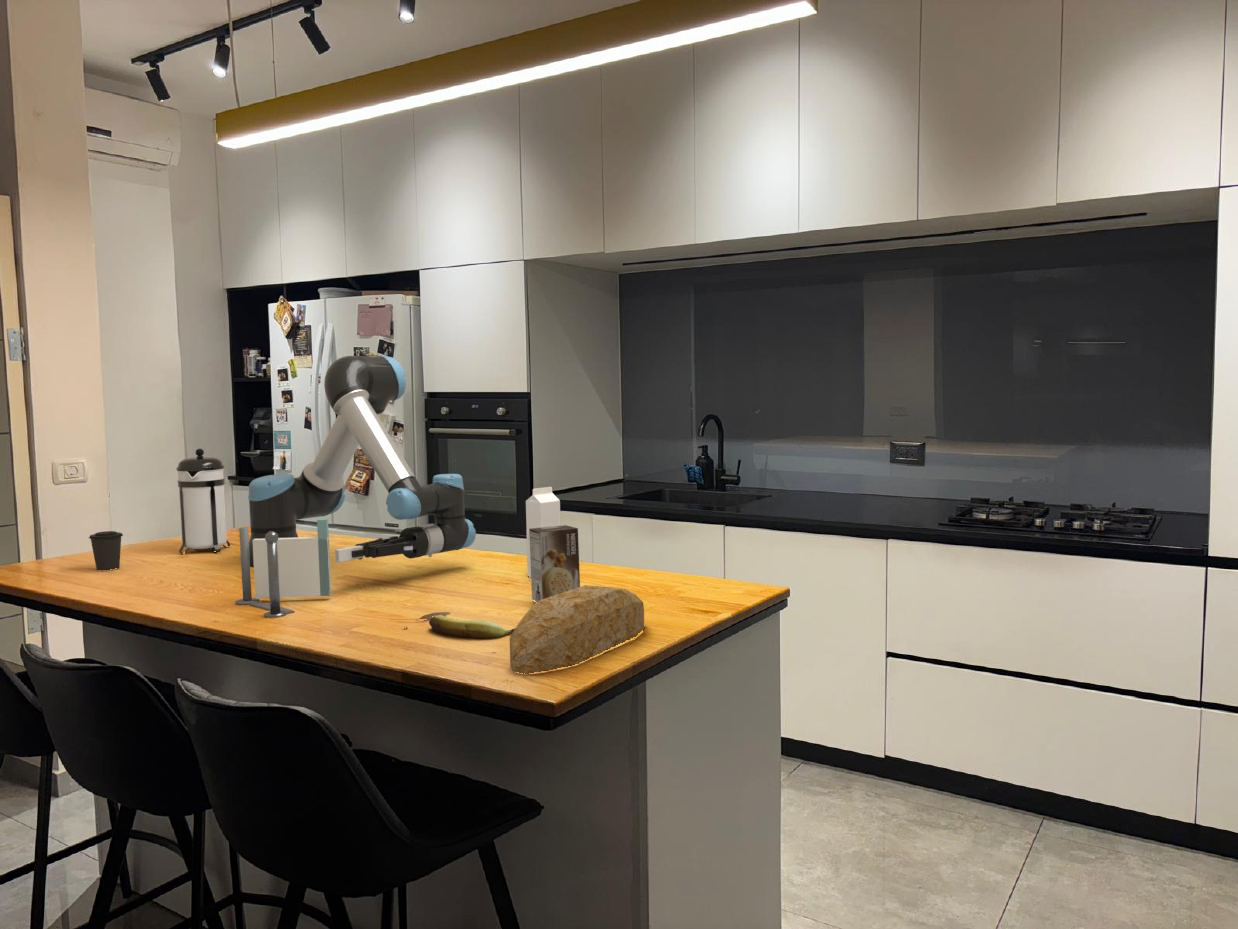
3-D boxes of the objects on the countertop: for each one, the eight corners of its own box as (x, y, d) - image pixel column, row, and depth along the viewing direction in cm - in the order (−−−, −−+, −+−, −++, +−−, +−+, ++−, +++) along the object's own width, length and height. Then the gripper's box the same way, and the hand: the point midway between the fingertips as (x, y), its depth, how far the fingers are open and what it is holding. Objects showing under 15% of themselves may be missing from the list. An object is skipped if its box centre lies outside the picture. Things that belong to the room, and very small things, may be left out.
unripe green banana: (348, 645, 176) (347, 625, 175) (436, 612, 200) (435, 594, 200) (510, 666, 161) (509, 644, 160) (583, 628, 185) (583, 608, 185)
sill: (231, 602, 209) (230, 601, 209) (252, 598, 213) (252, 597, 213) (278, 615, 197) (278, 613, 197) (300, 611, 201) (300, 609, 201)
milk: (561, 577, 232) (560, 487, 230) (542, 581, 227) (540, 489, 225) (546, 573, 236) (544, 485, 234) (526, 577, 232) (525, 487, 230)
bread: (547, 680, 152) (546, 619, 151) (495, 670, 158) (493, 611, 157) (660, 629, 182) (660, 578, 181) (613, 622, 188) (612, 573, 187)
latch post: (260, 615, 197) (255, 531, 196) (279, 611, 201) (275, 529, 199) (271, 618, 194) (267, 533, 193) (290, 614, 198) (286, 531, 196)
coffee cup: (114, 572, 248) (112, 534, 247) (84, 572, 248) (81, 534, 247) (131, 566, 256) (129, 529, 255) (101, 566, 256) (99, 529, 255)
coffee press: (245, 549, 279) (239, 447, 276) (189, 557, 267) (183, 451, 265) (219, 543, 291) (214, 445, 288) (165, 550, 279) (159, 449, 277)
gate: (241, 600, 209) (237, 522, 207) (244, 598, 211) (240, 521, 209) (329, 597, 210) (326, 519, 209) (331, 595, 212) (328, 518, 211)
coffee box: (569, 595, 211) (567, 524, 209) (581, 601, 205) (579, 528, 204) (530, 600, 207) (528, 527, 205) (542, 606, 201) (540, 531, 200)
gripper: (438, 558, 229) (354, 575, 211) (404, 554, 237) (321, 569, 219) (436, 528, 229) (352, 541, 210) (403, 524, 237) (319, 537, 219)
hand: (337, 556), depth 215 cm, fingers closed
